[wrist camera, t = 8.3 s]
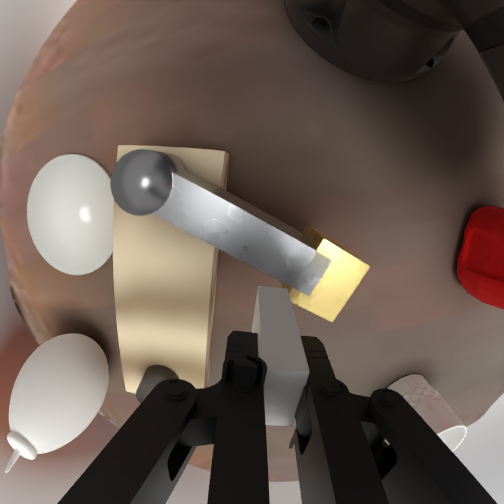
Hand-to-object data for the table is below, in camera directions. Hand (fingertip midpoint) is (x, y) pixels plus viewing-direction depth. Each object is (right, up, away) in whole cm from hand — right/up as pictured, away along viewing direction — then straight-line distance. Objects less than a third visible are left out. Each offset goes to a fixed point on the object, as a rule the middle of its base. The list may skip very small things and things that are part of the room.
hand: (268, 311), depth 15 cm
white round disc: (-17, +6, +8) cm, 20 cm away
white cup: (+17, -14, +14) cm, 27 cm away
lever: (-2, +5, +3) cm, 6 cm away
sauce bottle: (-18, -7, +12) cm, 23 cm away
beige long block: (-7, +1, +9) cm, 12 cm away
